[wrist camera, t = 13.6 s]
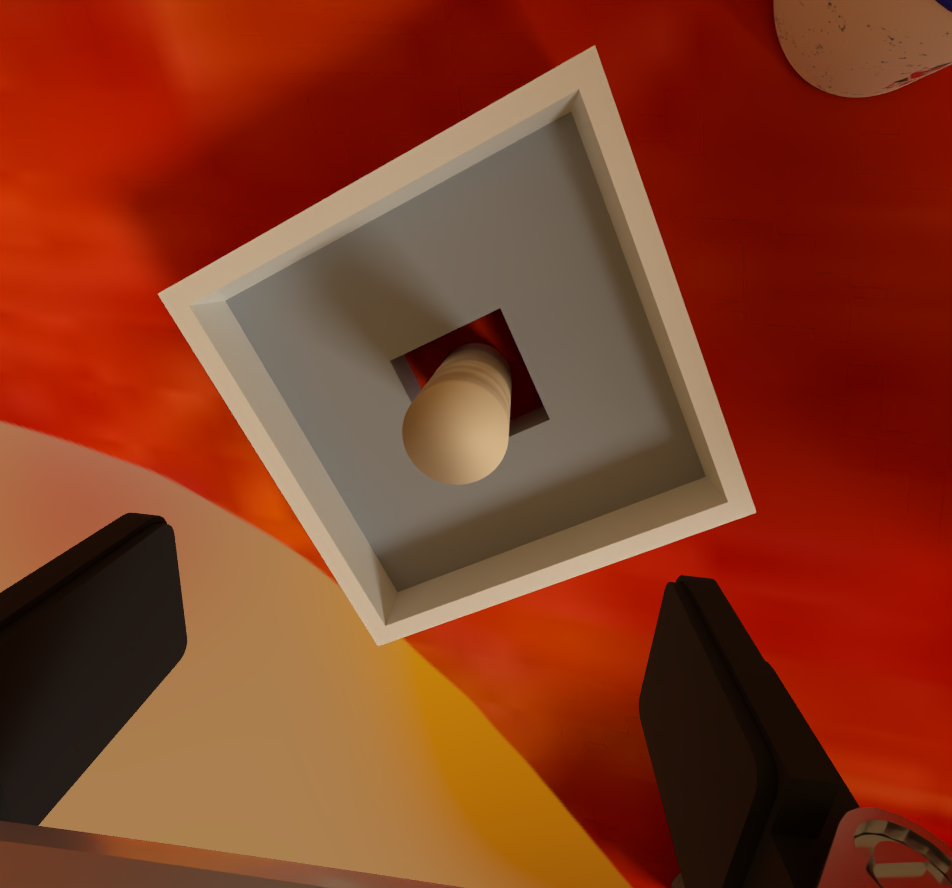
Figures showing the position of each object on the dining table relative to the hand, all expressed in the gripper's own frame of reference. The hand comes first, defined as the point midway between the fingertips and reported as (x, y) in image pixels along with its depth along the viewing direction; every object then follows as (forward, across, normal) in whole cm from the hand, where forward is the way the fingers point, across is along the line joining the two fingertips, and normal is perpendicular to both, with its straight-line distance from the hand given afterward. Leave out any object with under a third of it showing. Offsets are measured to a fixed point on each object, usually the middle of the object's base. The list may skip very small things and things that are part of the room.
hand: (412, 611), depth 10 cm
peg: (+20, 0, 0) cm, 20 cm away
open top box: (+20, 0, 0) cm, 20 cm away
